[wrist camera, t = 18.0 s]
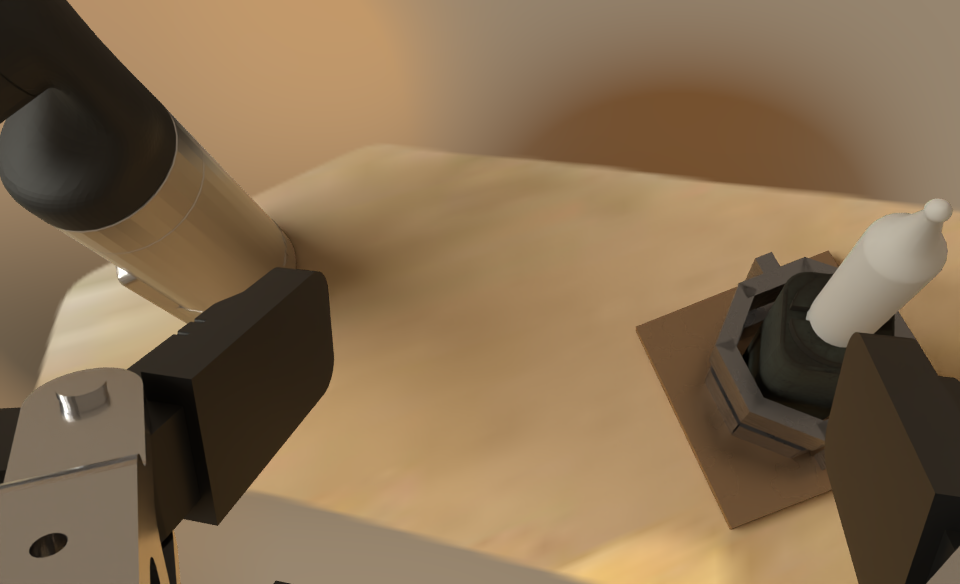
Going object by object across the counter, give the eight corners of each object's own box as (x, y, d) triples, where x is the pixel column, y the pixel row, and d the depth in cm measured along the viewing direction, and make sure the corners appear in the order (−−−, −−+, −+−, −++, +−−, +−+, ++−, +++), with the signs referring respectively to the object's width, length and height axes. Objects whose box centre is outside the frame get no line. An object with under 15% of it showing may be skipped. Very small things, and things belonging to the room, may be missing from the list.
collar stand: (729, 529, 46) (756, 518, 37) (635, 330, 51) (640, 282, 43) (943, 446, 45) (1017, 417, 37) (825, 255, 51) (867, 192, 43)
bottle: (743, 342, 49) (861, 132, 26) (825, 353, 48) (1026, 144, 25) (737, 418, 47) (857, 266, 24) (822, 431, 46) (1034, 285, 23)
